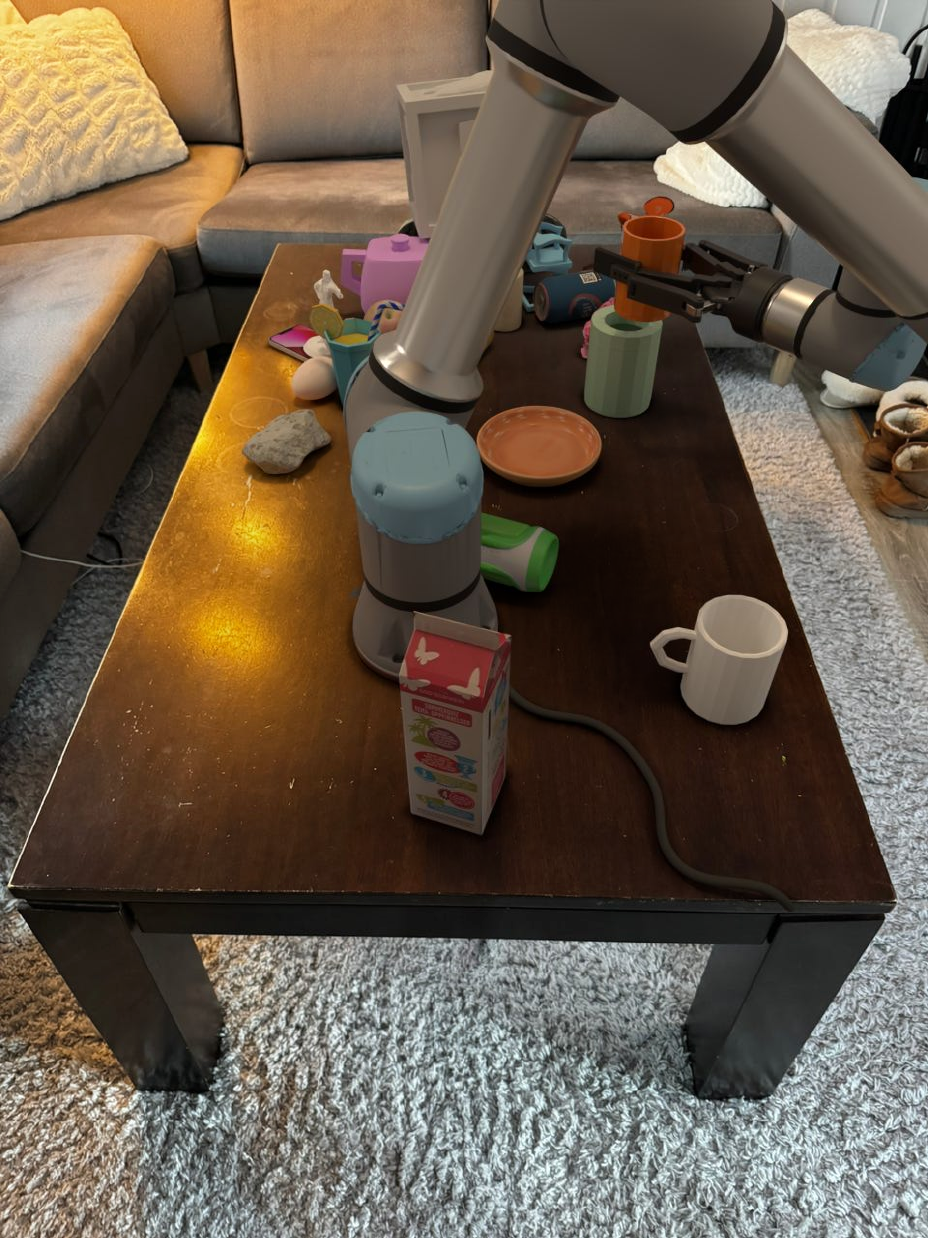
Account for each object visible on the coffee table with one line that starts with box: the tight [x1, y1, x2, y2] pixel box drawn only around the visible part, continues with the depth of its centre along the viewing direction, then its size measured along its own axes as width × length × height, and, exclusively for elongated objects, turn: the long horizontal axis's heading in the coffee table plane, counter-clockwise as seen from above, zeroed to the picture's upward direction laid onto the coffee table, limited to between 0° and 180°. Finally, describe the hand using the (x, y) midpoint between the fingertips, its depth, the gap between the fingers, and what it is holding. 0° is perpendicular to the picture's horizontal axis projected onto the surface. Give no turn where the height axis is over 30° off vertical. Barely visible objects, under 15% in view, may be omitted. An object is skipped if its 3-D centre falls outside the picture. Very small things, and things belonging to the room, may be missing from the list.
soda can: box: [532, 270, 616, 324], centre depth 142 cm, size 7×7×12 cm
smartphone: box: [268, 323, 319, 363], centre depth 137 cm, size 7×1×15 cm
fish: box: [617, 195, 687, 245], centre depth 156 cm, size 20×12×15 cm
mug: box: [649, 594, 789, 726], centre depth 86 cm, size 8×12×10 cm
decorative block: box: [395, 70, 543, 239], centre depth 140 cm, size 19×19×20 cm
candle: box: [494, 268, 524, 333], centre depth 140 cm, size 6×6×10 cm
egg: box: [290, 356, 338, 401], centre depth 127 cm, size 6×6×8 cm
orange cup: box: [614, 215, 687, 322], centre depth 109 cm, size 7×7×10 cm
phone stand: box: [522, 222, 574, 313], centre depth 145 cm, size 8×8×12 cm
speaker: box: [481, 512, 560, 593], centre depth 100 cm, size 18×7×8 cm
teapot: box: [339, 233, 430, 315], centre depth 141 cm, size 20×12×13 cm, turn 90°
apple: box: [363, 300, 403, 335], centre depth 135 cm, size 8×8×8 cm
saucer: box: [476, 405, 603, 488], centre depth 116 cm, size 16×16×3 cm
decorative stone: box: [241, 408, 332, 475], centre depth 117 cm, size 12×11×5 cm
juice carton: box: [398, 611, 512, 836], centre depth 73 cm, size 7×7×22 cm
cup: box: [307, 301, 405, 408], centre depth 122 cm, size 14×8×15 cm, turn 86°
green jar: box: [583, 305, 664, 419], centre depth 123 cm, size 9×9×12 cm
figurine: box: [303, 269, 344, 359], centre depth 131 cm, size 7×7×12 cm
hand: (617, 249), depth 111 cm, fingers closed on orange cup, 7 cm apart
